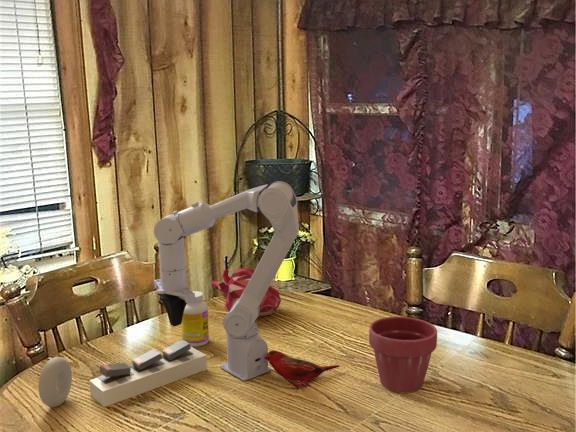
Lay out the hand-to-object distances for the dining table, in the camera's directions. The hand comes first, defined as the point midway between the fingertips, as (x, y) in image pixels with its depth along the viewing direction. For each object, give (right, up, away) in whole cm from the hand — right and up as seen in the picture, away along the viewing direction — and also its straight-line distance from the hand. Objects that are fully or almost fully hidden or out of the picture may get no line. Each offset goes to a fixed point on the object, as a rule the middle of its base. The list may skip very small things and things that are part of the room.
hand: (176, 324), depth 143 cm
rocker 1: (-11, -8, -11) cm, 17 cm away
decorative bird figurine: (+30, -12, -10) cm, 34 cm away
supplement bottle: (+2, -7, +14) cm, 16 cm away
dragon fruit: (+14, -3, +33) cm, 36 cm away
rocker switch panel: (-4, -12, -6) cm, 14 cm away
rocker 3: (0, -5, -2) cm, 6 cm away
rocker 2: (-5, -7, -6) cm, 11 cm away
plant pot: (+50, -11, -8) cm, 52 cm away
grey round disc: (-22, -14, -15) cm, 30 cm away
